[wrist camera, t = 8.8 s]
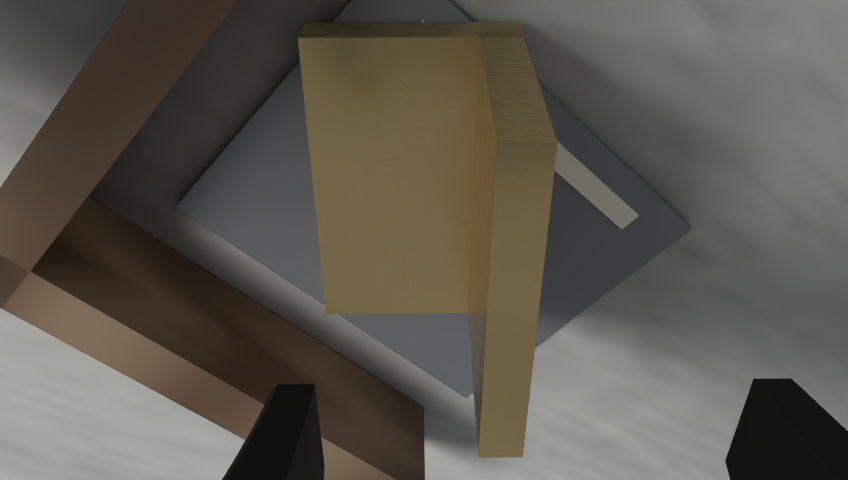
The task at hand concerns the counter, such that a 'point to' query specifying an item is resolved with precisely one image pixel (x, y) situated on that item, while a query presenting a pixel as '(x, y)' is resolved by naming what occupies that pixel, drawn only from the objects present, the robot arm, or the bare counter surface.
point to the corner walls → (170, 268)
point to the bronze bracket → (435, 189)
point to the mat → (431, 332)
